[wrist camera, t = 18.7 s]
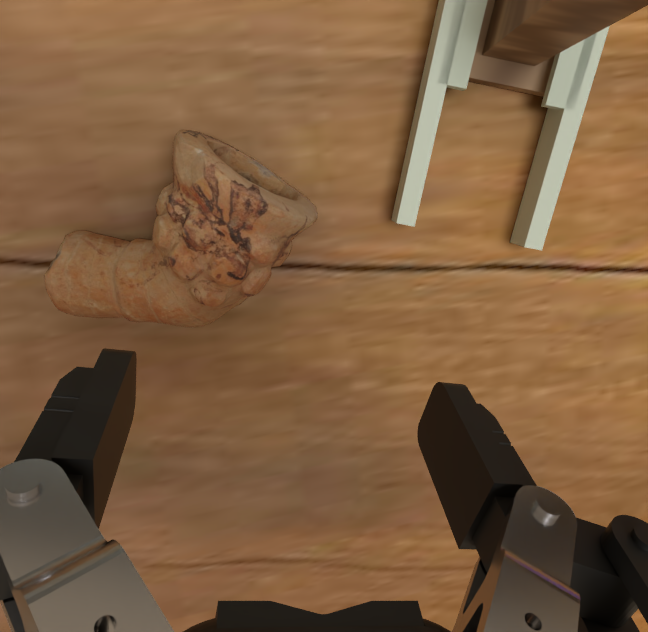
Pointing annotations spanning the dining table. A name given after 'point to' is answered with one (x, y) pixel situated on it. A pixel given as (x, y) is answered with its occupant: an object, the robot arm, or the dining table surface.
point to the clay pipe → (187, 243)
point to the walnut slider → (537, 38)
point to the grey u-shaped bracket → (453, 72)
